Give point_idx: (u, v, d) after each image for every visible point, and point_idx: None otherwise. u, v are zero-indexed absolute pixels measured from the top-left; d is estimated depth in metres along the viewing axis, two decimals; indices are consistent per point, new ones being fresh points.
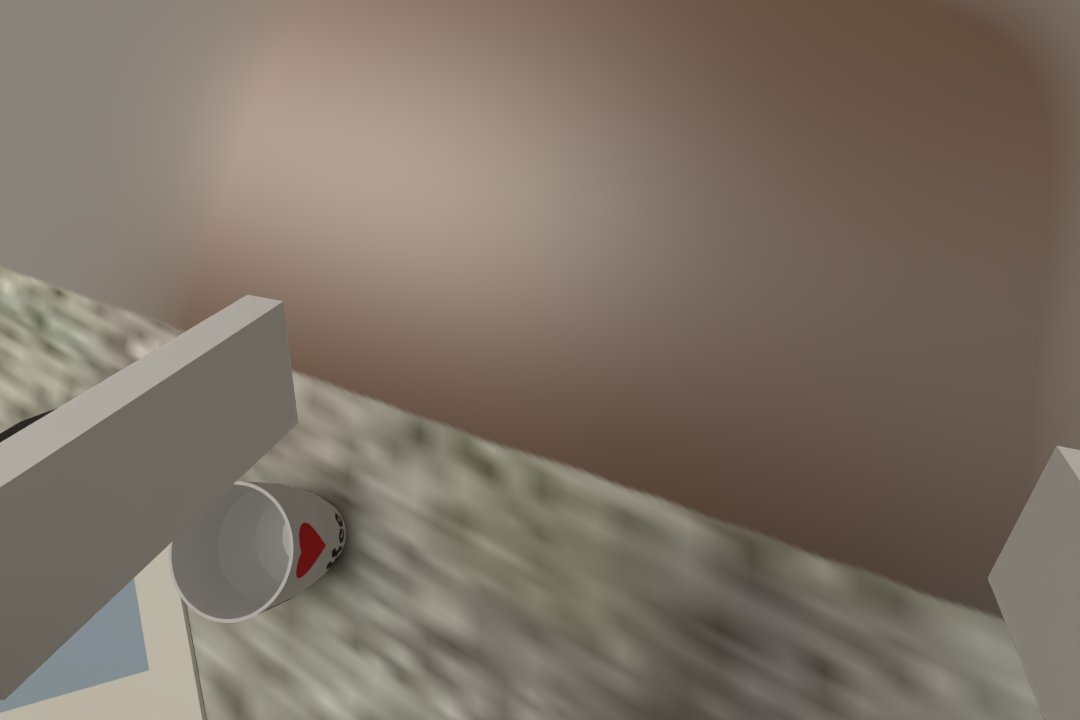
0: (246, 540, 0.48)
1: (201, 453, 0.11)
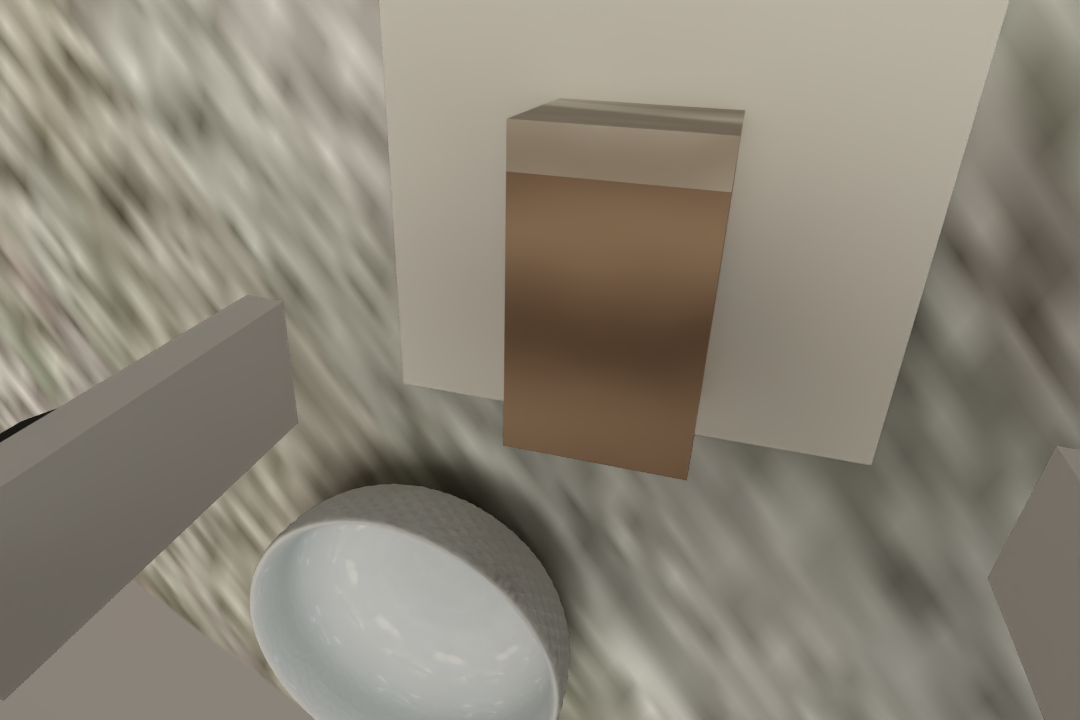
0: None
1: (201, 453, 0.11)
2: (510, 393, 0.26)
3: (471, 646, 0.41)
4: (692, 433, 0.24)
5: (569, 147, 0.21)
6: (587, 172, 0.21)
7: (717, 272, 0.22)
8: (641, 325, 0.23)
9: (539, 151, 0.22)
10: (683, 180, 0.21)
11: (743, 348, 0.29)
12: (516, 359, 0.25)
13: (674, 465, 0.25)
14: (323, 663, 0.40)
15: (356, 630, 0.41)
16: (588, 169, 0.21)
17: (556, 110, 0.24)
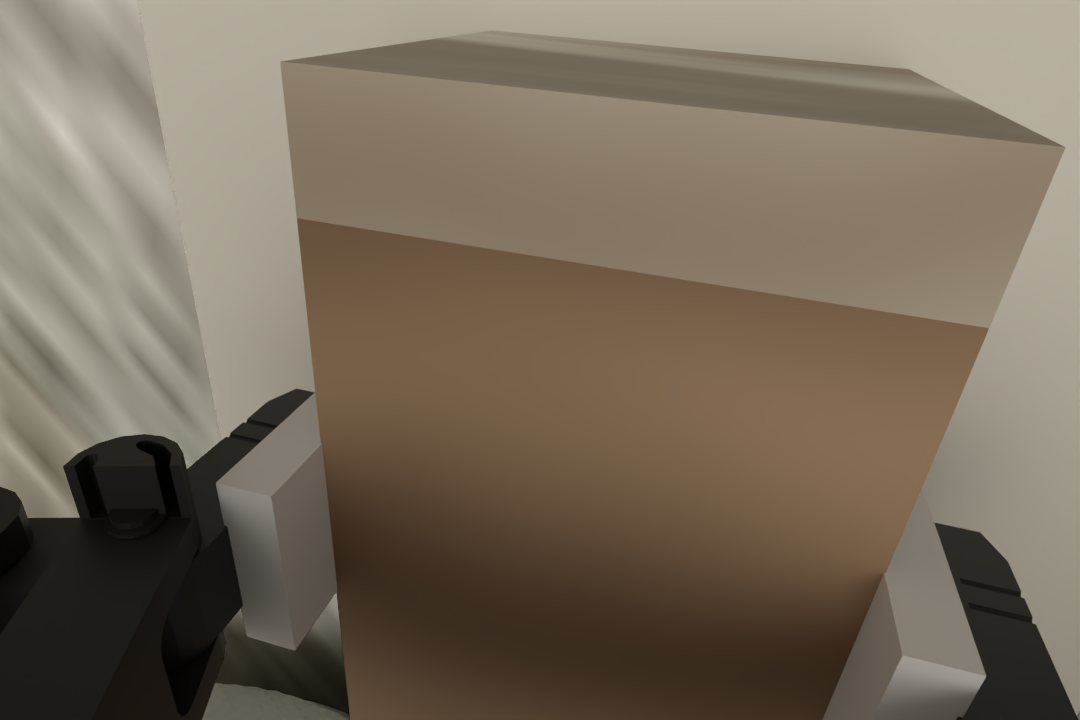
0: None
1: None
2: (361, 692, 0.12)
3: None
4: None
5: (473, 159, 0.07)
6: (527, 236, 0.07)
7: (897, 534, 0.07)
8: (666, 618, 0.09)
9: (383, 166, 0.07)
10: (831, 280, 0.06)
11: None
12: (367, 637, 0.11)
13: None
14: None
15: None
16: (530, 227, 0.07)
17: (461, 49, 0.09)
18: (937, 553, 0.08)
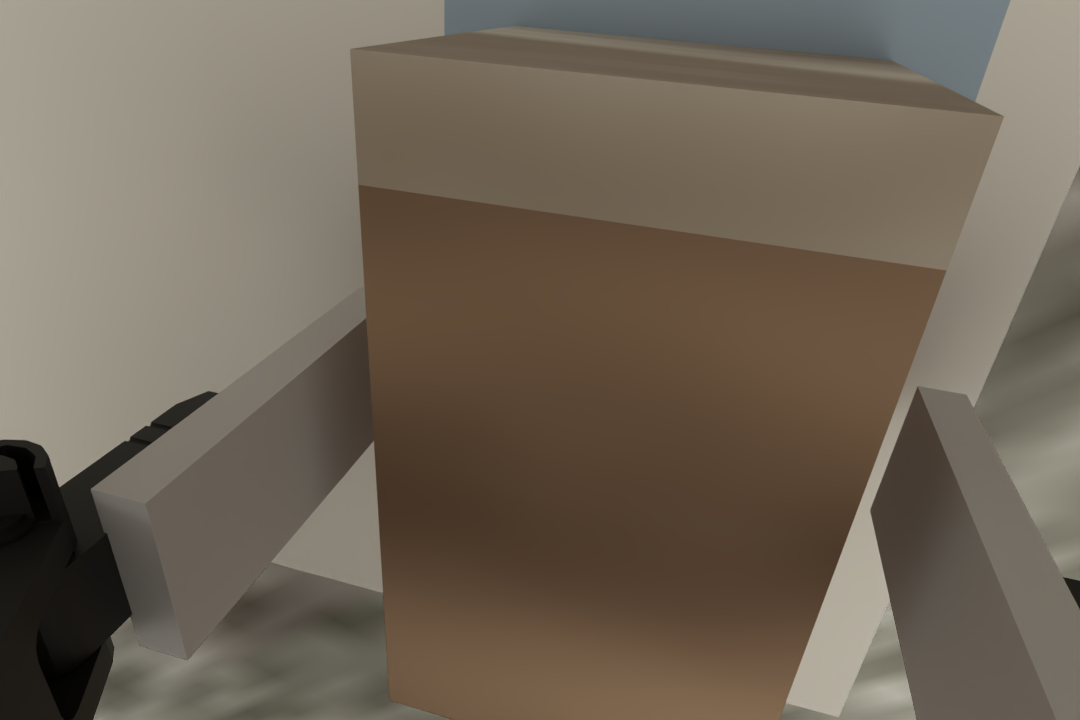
0: None
1: (332, 435, 0.12)
2: (397, 622, 0.13)
3: None
4: None
5: (513, 131, 0.08)
6: (558, 197, 0.08)
7: (873, 455, 0.09)
8: (675, 540, 0.10)
9: (436, 139, 0.08)
10: (815, 230, 0.08)
11: (48, 367, 0.22)
12: (405, 568, 0.12)
13: None
14: None
15: None
16: (561, 190, 0.08)
17: (494, 41, 0.10)
18: (1076, 618, 0.07)
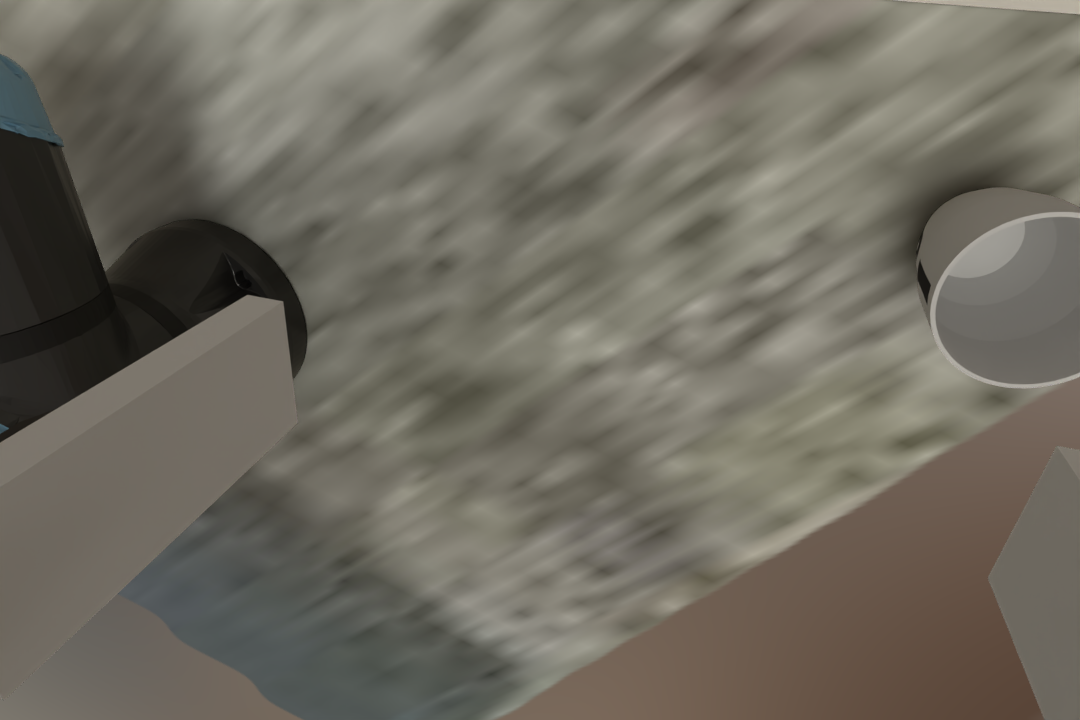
0: None
1: (201, 453, 0.11)
2: None
3: None
4: None
5: None
6: None
7: None
8: None
9: None
10: None
11: None
12: None
13: None
14: None
15: None
16: None
17: None
18: None
